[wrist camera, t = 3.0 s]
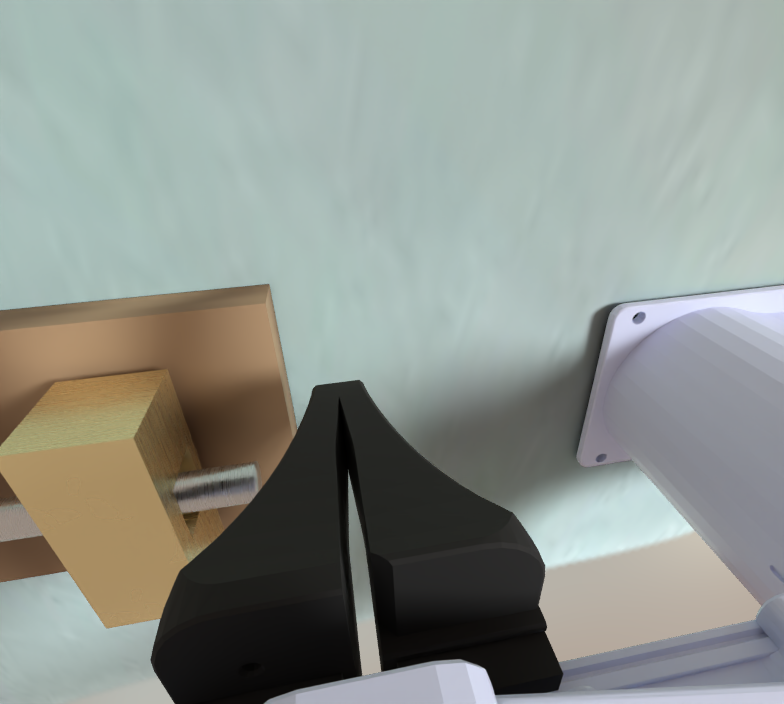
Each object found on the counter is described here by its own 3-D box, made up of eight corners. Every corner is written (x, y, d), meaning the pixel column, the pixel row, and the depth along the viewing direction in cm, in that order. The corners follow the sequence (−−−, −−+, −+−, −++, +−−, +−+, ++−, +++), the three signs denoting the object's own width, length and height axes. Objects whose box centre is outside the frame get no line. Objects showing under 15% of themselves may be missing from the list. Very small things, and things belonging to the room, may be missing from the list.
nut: (167, 369, 13) (133, 438, 10) (224, 528, 16) (209, 609, 14) (55, 382, 12) (-10, 457, 10) (138, 542, 16) (106, 628, 13)
